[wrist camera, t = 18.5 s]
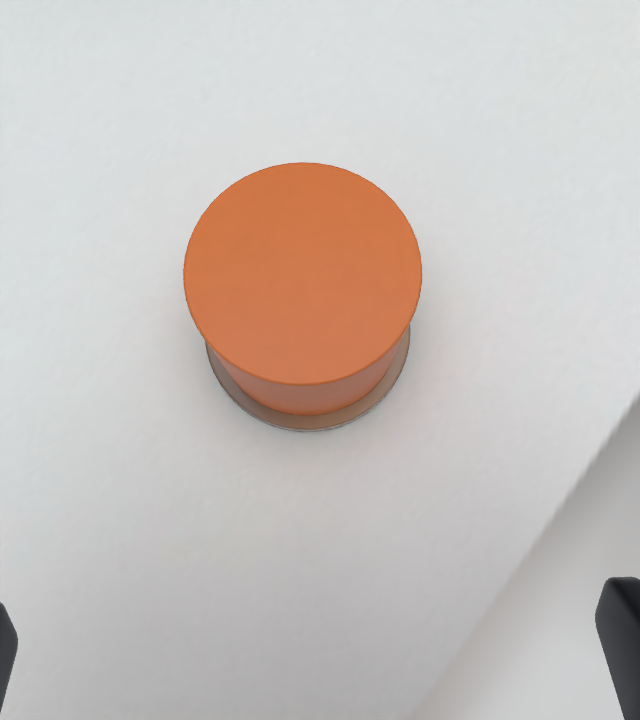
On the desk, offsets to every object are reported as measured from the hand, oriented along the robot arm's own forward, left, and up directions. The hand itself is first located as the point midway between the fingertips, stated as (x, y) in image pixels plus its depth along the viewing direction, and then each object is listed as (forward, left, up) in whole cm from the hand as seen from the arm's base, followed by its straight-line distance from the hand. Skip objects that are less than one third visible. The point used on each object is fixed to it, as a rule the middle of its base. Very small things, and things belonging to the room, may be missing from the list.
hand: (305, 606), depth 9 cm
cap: (+4, -7, -10) cm, 12 cm away
